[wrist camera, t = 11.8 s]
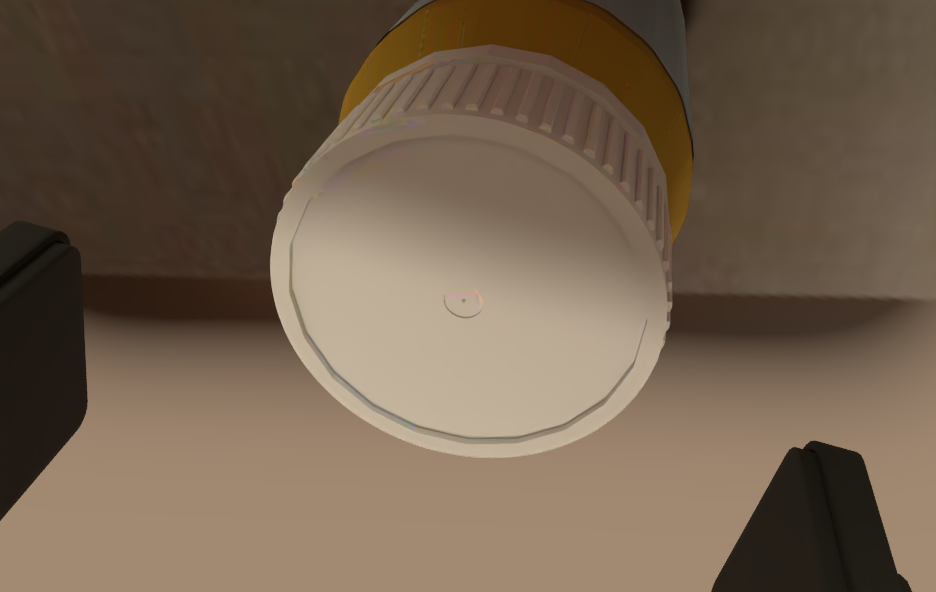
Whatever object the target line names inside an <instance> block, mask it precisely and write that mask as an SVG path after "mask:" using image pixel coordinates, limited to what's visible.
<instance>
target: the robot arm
mask: <svg viewBox="0 0 936 592" xmlns="http://www.w3.org/2000/svg"><path fill="white" fill-rule="evenodd" d="M86 381H87V380H86V360H85V340H84V318H83V297H82V276H81V258H80V253H79V251H78V249H77V248H75V247H73V246H70V240H69V238H68V237H67V235H66V234H65V233H63V232H61V231H57V230H54V229H50V228H46V227H43V226H39V225H36V224H32V223H28V222H25V221H16V222H14V223H12V224H10V225H9V226H8V227H6V228H5V229H3V230H2V231H1V232H0V521H1V519H2V518H3V517H4V516H5V515H6V513H7V512H8V511H9V510H10V509H11V508H12V506H13V505H14V504H15V503H16V502H17V500H18V499H19V498H20V497H21V496H22V495H23V493H24V492H25V491H26V490H27V489H28V488H29V486H30V485H31V484H32V483H33V482H34V480H35V479H36V478H37V477H38V476H39V475H40V473H41V472H42V471H43V470H44V469H45V467H46V466H47V465H48V464H49V463H50V462H51V460H52V459H53V458H54V457H55V456H56V455H57V453H58V452H59V451H60V450H61V449H62V448H63V446H64V445H65V444H66V443H67V442H68V440H69V439H70V438H71V437H72V436H73V435H74V433H75V432H76V431H77V430H78V428H79V427H80V425H81V423H82V421H83V419H84V416H85V414H86V409H87V402H88V400H87V382H86ZM711 592H912V591H911V588H910V586H909V584H908V582H907V581H906V580H905V579H904V578H903V577H902V576H901V575H900V574H897V570H896V567H895V564H894V560H893V557H892V554H891V550H890V547H889V544H888V540H887V537H886V533H885V530H884V527H883V523H882V520H881V517H880V514H879V510H878V507H877V503H876V500H875V496H874V493H873V490H872V486H871V483H870V480H869V476H868V473H867V470H866V466H865V463H864V460H863V458H862V456H861V455H860V454H859V453H857V452H854V451H851V450H847V449H843V448H840V447H836V446H832V445H829V444H825V443H822V442H818V441H810V442H809V443H808V444H806V446H805V447H804V448H803V449H800V448H796V447H793V448H791V449H790V450H789V451H788V453H787V454H786V456H785V457H784V459H783V461H782V463H781V465H780V466H779V468H778V470H777V472H776V474H775V475H774V477H773V479H772V481H771V483H770V484H769V486H768V488H767V490H766V491H765V493H764V495H763V497H762V498H761V500H760V502H759V504H758V506H757V507H756V509H755V511H754V513H753V515H752V516H751V518H750V520H749V522H748V523H747V526H746V527H745V529H744V531H743V533H742V534H741V536H740V538H739V540H738V541H737V543H736V545H735V547H734V548H733V550H732V552H731V554H730V556H729V557H728V559H727V561H726V563H725V565H724V566H723V568H722V570H721V572H720V573H719V575H718V577H717V579H716V581H715V583H714V585H713V588H712V591H711Z"/></svg>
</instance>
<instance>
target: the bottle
mask: <svg viewBox="0 0 936 592" xmlns="http://www.w3.org/2000/svg"><path fill="white" fill-rule="evenodd" d="M693 157H694V154H693V136H692V122H691V107H690V92H689V77H688V63H687V48H686V33H685V20H684V16H683V11H682V7H681V2H680V0H418V1H417V2H416V3H415V4H414V5H413V6H412V7H411V8H410V9H409V10H408V11H407V12H406V13H405V14H404V16H403V17H402V18H401V19H400V20H399V21H398V22H397V23H396V24H395V25H394V26H393V27H392V28H391V29H390V30H389V31H388V32H387V34H386V35H385V36H384V37H383V38H382V39H381V40H380V41H379V42H378V44H377V45H376V47H375V48H374V50H373V51H372V52H371V53H370V55H369V56H368V58H367V59H366V61H365V62H364V64H363V66H362V67H361V69H360V70H359V72H358V73H357V75H356V77H355V78H354V80H353V81H352V83H351V85H350V86H349V88H348V91H347V93H346V96H345V98H344V101H343V105H342V110H341V115H340V119H339V124H338V127H337V128H336V129H335V130H334V131H333V133H332V134H331V135H330V136H329V137H328V138H327V140H326V141H325V142H324V143H323V144H322V146H321V147H320V148H319V149H318V150H317V152H316V153H315V154H314V155H313V156H312V157H311V159H310V160H309V161H308V162H307V163H306V165H305V166H304V168H303V170H302V171H301V172H300V173H299V174H298V176H297V177H296V178H295V180H294V181H293V183H292V188H291V190H290V191H289V192H288V193H287V194H286V196H285V198H284V200H283V204H284V206H283V208H282V210H281V211H280V212H279V214H278V217H277V224H276V228H275V231H274V233H273V241H272V247H271V259H270V271H271V284H272V290H273V296H274V300H275V304H276V308H277V312H278V314H279V318H280V320H281V323H282V325H283V328H284V330H285V332H286V334H287V337H288V339H289V341H290V342H291V344H292V346H293V348H294V350H295V351H296V353H297V354H298V356H299V357H300V359H301V360H302V362H303V363H304V365H305V366H306V367H307V369H308V370H309V371H310V372H311V374H312V375H313V376H314V377H315V378H316V380H317V381H318V382H319V383H320V384H321V385H322V386H323V387H324V388H325V389H326V390H327V391H328V392H329V393H330V394H331V395H332V396H333V397H334V398H335V399H337V400H338V401H339V402H340V403H341V404H343V405H344V406H345V407H346V408H348V409H349V410H350V411H352V412H353V413H354V414H356V415H357V416H359V417H360V418H362V419H363V420H365V421H366V422H368V423H370V424H371V425H373V426H375V427H377V428H378V429H380V430H382V431H384V432H386V433H388V434H390V435H392V436H394V437H397V438H399V439H401V440H404V441H407V442H409V443H412V444H415V445H418V446H421V447H424V448H428V449H431V450H435V451H439V452H443V453H448V454H454V455H460V456H468V457H480V458H503V457H504V458H505V457H517V456H525V455H531V454H536V453H540V452H545V451H549V450H552V449H555V448H559V447H561V446H564V445H566V444H569V443H572V442H574V441H577V440H579V439H581V438H583V437H585V436H587V435H589V434H590V433H592V432H594V431H596V430H597V429H599V428H600V427H602V426H603V425H605V424H606V423H607V422H609V421H610V420H611V419H613V418H614V417H615V416H616V415H618V414H619V413H620V412H621V411H622V410H623V409H624V408H625V407H626V406H627V405H628V404H629V403H630V402H631V401H632V400H633V398H634V397H635V396H636V395H637V393H638V392H639V391H640V390H641V388H642V387H643V385H644V384H645V382H646V381H647V379H648V377H649V376H650V374H651V372H652V370H653V368H654V366H655V364H656V363H657V361H658V358H659V353H660V350H661V348H663V346H664V344H665V340H666V337H665V336H666V335H665V333H666V331H667V330H668V328H669V325H670V310H671V309H672V244H673V242H674V240H675V238H676V236H677V234H678V232H679V230H680V228H681V227H682V225H683V223H684V220H685V217H686V213H687V210H688V206H689V197H690V189H691V181H692V172H693Z"/></svg>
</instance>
